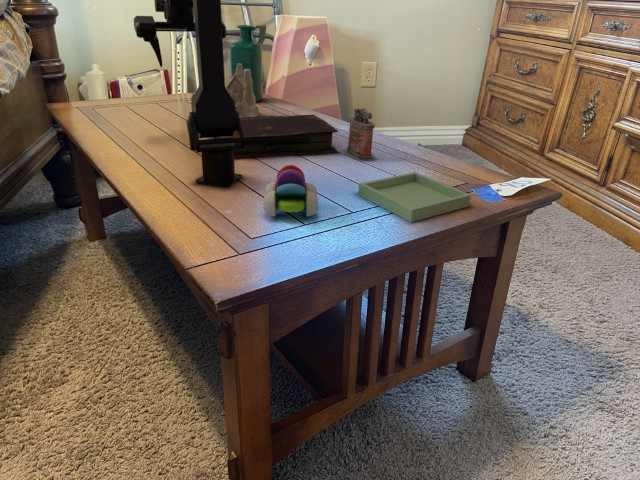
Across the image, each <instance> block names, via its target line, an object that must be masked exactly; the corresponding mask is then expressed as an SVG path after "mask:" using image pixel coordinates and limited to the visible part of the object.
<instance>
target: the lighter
mask: <svg viewBox="0 0 640 480" xmlns="http://www.w3.org/2000/svg"><path fill="white" fill-rule="evenodd" d="M353 114H354V116H349V118H348V122H349V132H348V146H347V147H346V149H347V150H346V152H347V153H348V154H349V155H351V156H352V157H354V158H355V159H358V160H361V161H371V160H372V157H373V155H372V149H373V148H372V146H373V137H374V129H375V123H373V122H372V121H370V120H372V119H373V113H372V112H370V111H368V110H367V109H366V108H365V107H363V108H360V107H354V110H353Z"/></svg>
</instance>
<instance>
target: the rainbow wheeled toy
mask: <svg viewBox="0 0 640 480" xmlns="http://www.w3.org/2000/svg"><path fill="white" fill-rule="evenodd" d="M277 209H278V210H279V211H281V212H286V213H299V212H302V211H304V210H305V215H306V217H307V218H309V217H311V216H314V215H315V214H316V213H317V212H318V211H319V198H318V188H317V187H316V185H314V184H313V183H312V182H308V181H307V182H306V176H305V173H304V171H303V170H302V169H301V168H300V167H299V166H296V165H294V164H288V165H285V166H282V168H280V170H278V172H277V174H276V181H271V182H270V183H268V184H267V185H266V187H265V189H264V197H263V210H264V212H265V213H266V214H267V215H269V216H271V217H276V216H277Z"/></svg>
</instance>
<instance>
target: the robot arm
mask: <svg viewBox="0 0 640 480" xmlns="http://www.w3.org/2000/svg"><path fill="white" fill-rule="evenodd" d="M153 1H154V10H155V12H156V13H163V16H164V20H166V21H155V19H154V17H153V15H135V16H134V17H133V28H134V31H135V34H136V37H137V38H139V39H143V42H145V43H149V45H150V46H151V48H152V50H153V52H154V54H155V55H156V56H155V57H156V59H157V61H158V64H159V67H160V68H162V67H163V57H162V52H161V45H160V41H159V38H158V33H157V32H169V33H170V32H172V33H173V32H175V33H176V32H180V33H181V32H182V33H185V32H187V33H188V32H189V33H195V46H196V61H197V74H198V75H197V76H198V87H197V89H196V90H197V91H196V90H195V93H192V96H191V99H190V105H191V106H190V107H191V111H189V112H188V117H187V119H186V120H185V123H186V127H187V135H188V141H189V150H190V151H193V152H195V153H196V154H201V170H202V171H201V172H202V175H201V176H199V177H198V178H196V179H195V183H196V184H200V185H206V186H213V187H219V188H226V189H227V188H229V187H231V186H232V185H234V184H235V183H237V182H238V181H239V180H241V179H242V178H243V174H241V173H236V168H235V167H236V166H235V165H236V164H235V157H234V150H235V149H241V150H242V149H244V136H243V132H242V128H241V123H240V119H239V115H238V112H237V110H236V107H235V102H234V101H233V99H232V97H231V96H230V94H229V93H228V91H227V90H226V88H225V86H226V80H225V79H226V77H225V58H224V39H226V38H227V27H226V25H225V23H224V22H223V19H222V17H223V16H222V1H221V0H153ZM233 134H234V138H220V139H214V138H213V137H227V136H233Z"/></svg>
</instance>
